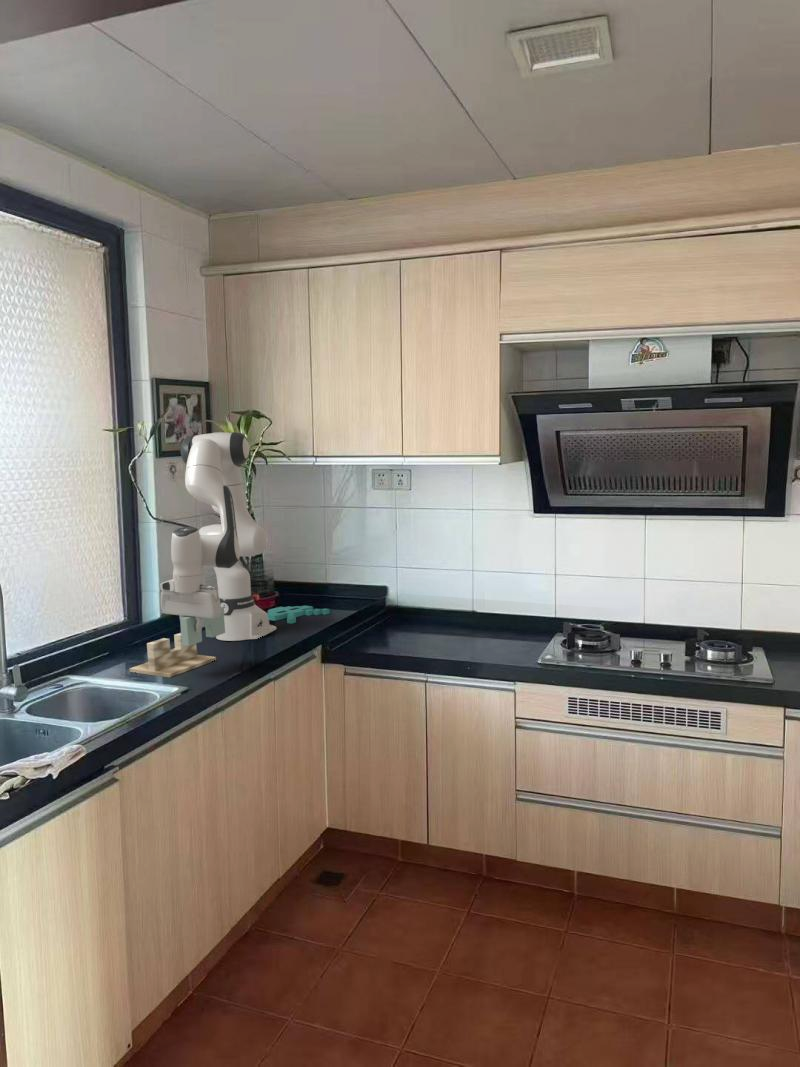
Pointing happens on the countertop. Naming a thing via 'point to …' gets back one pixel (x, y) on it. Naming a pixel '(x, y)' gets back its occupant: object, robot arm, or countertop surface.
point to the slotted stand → (171, 658)
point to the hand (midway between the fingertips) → (192, 630)
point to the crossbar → (211, 626)
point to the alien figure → (293, 612)
